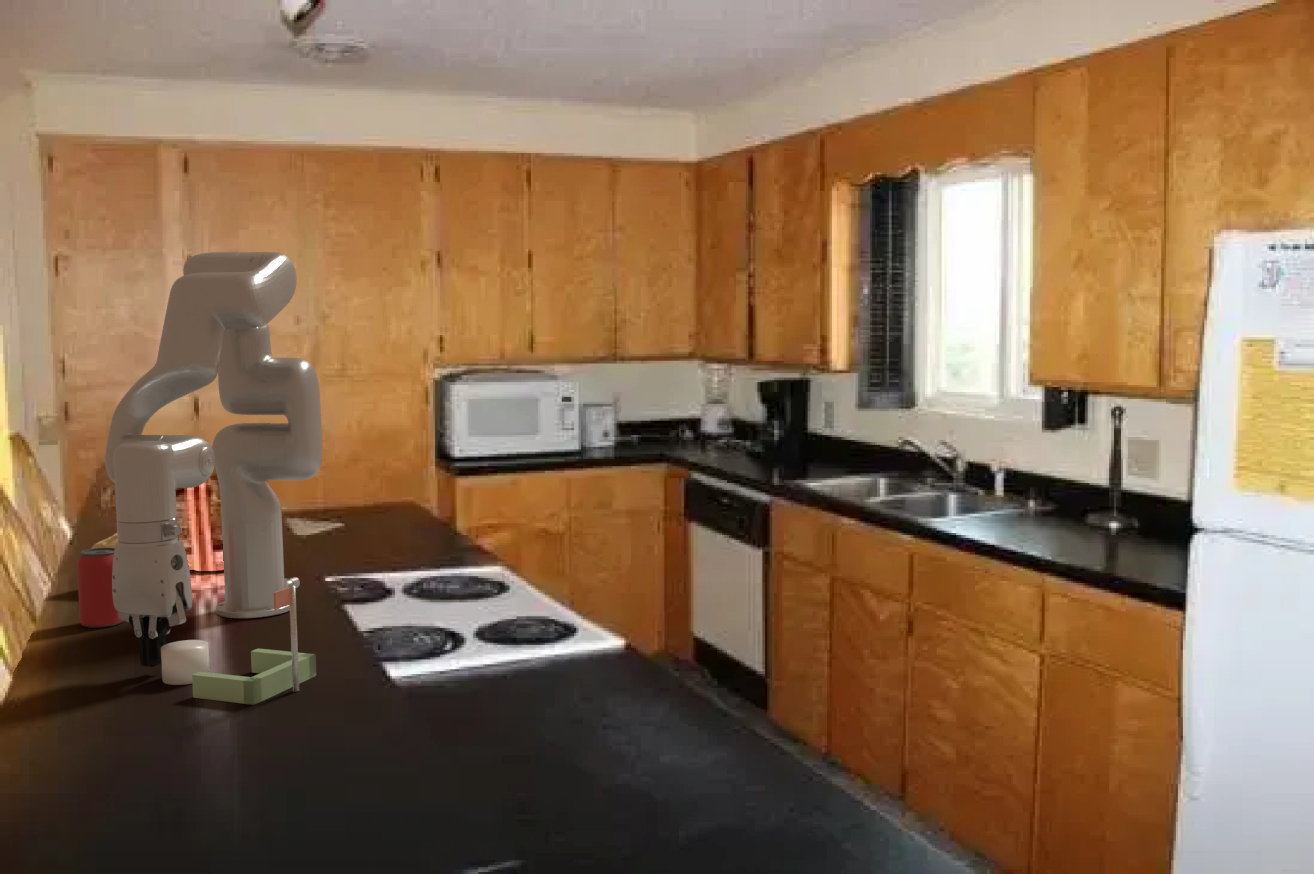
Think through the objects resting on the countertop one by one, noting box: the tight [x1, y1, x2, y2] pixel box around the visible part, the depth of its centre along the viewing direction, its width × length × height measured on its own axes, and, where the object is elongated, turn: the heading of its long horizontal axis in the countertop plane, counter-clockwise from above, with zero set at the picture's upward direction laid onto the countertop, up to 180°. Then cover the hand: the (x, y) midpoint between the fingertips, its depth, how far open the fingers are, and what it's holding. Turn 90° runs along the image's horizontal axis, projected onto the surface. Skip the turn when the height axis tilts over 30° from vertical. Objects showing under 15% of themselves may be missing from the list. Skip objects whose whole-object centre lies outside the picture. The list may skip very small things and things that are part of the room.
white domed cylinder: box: [161, 639, 211, 686], centre depth 160 cm, size 6×6×4 cm
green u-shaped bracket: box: [192, 585, 317, 706], centre depth 155 cm, size 13×11×14 cm
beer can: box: [76, 548, 124, 629], centre depth 189 cm, size 7×7×12 cm
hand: (154, 663), depth 161 cm, fingers closed
